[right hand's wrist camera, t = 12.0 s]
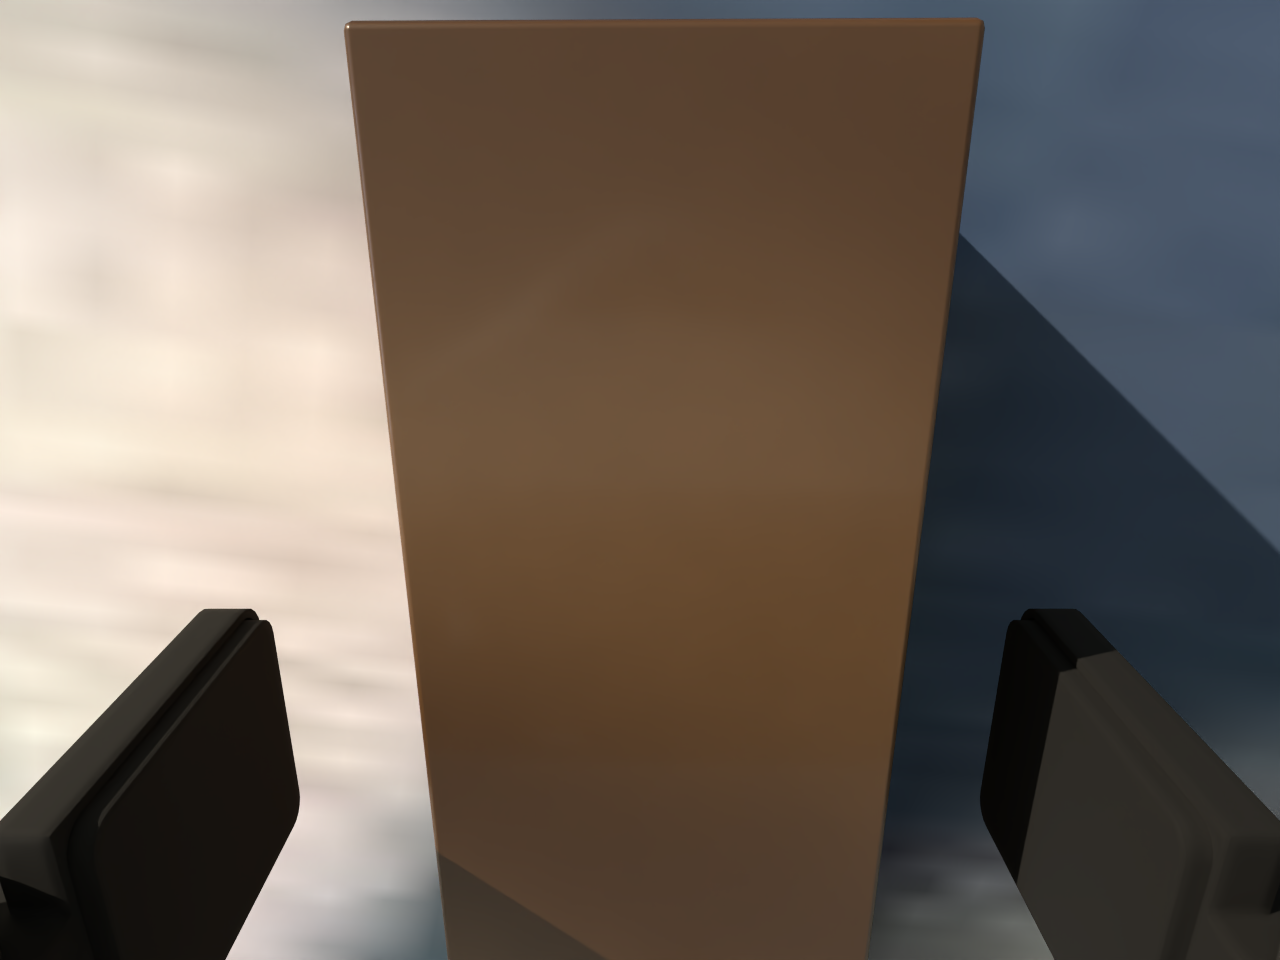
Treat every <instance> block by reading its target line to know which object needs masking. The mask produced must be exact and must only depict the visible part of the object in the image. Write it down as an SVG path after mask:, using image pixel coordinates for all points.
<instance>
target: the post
mask: <svg viewBox="0 0 1280 960" xmlns="http://www.w3.org/2000/svg"><path fill="white" fill-rule="evenodd" d="M984 30H985V27H984V22H983V21H982V20H980V19H978V18H821V19H622V20H423V21H351V22H349V23H347V24H345V28H344V37H345V45H346V54H347V63H348V72H349V81H350V90H351V99H352V108H353V117H354V126H355V135H356V144H357V152H358V161H359V170H360V179H361V188H362V197H363V206H364V215H365V224H366V233H367V242H368V251H369V259H370V268H371V277H372V286H373V295H374V304H375V313H376V322H377V331H378V340H379V349H380V358H381V366H382V375H383V384H384V393H385V402H386V411H387V420H388V429H389V438H390V447H391V456H392V465H393V473H394V482H395V491H396V500H397V509H398V518H399V527H400V536H401V545H402V554H403V563H404V572H405V580H406V589H407V598H408V607H409V616H410V625H411V634H412V643H413V652H414V661H415V670H416V679H417V687H418V696H419V705H420V714H421V723H422V732H423V741H424V750H425V759H426V768H427V777H428V786H429V794H430V803H431V812H432V821H433V830H434V839H435V848H436V857H437V866H438V875H439V884H440V893H441V901H442V910H443V919H444V928H445V937H446V946H447V955H448V960H868V955H869V947H870V939H871V931H872V923H873V915H874V907H875V899H876V891H877V883H878V875H879V867H880V859H881V851H882V843H883V835H884V827H885V819H886V811H887V803H888V796H889V788H890V780H891V772H892V764H893V756H894V748H895V740H896V732H897V724H898V716H899V708H900V700H901V692H902V684H903V676H904V668H905V660H906V652H907V644H908V636H909V628H910V620H911V612H912V604H913V596H914V588H915V580H916V572H917V564H918V556H919V548H920V541H921V533H922V525H923V517H924V509H925V501H926V493H927V485H928V477H929V469H930V461H931V453H932V445H933V437H934V429H935V421H936V413H937V405H938V397H939V389H940V381H941V373H942V365H943V357H944V349H945V341H946V333H947V325H948V317H949V309H950V301H951V293H952V285H953V278H954V270H955V262H956V254H957V246H958V238H959V230H960V222H961V214H962V206H963V198H964V190H965V182H966V174H967V166H968V158H969V150H970V142H971V134H972V126H973V118H974V110H975V102H976V94H977V86H978V78H979V70H980V62H981V54H982V46H983V38H984Z"/></svg>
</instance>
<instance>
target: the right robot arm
mask: <svg viewBox="0 0 1280 960" xmlns="http://www.w3.org/2000/svg"><path fill="white" fill-rule="evenodd" d="M299 805H300V793H299V786H298V780H297V774H296V768H295V762H294V756H293V749H292V743H291V737H290V731H289V725H288V719H287V713H286V707H285V701H284V695H283V688H282V682H281V676H280V670H279V664H278V658H277V652H276V646H275V640H274V634H273V629H272V626H271V624H270V622H268V621H267V620H259V618H258V616H257V614H256V612H255V611H253V610H252V609H204V610H202V611H201V612H199V613H198V614H197V615H196V616H195V618H194V619H193V620H192V621H191V622H190V623H189V624H188V625H187V626H186V627H185V628H184V629H183V630H182V631H181V632H180V633H179V634H178V635H177V636H176V637H175V638H174V639H173V641H172V642H171V643H170V644H169V645H168V646H167V647H166V648H165V649H164V650H163V651H162V652H161V653H160V654H159V655H158V656H157V657H156V658H155V659H154V660H153V661H152V663H151V664H150V665H149V666H148V667H147V668H146V669H145V670H144V671H143V672H142V673H141V674H140V675H139V676H138V677H137V678H136V679H135V680H134V681H133V682H132V683H131V685H130V686H129V687H128V688H127V689H126V690H125V691H124V692H123V693H122V694H121V695H120V696H119V697H118V698H117V699H116V700H115V701H114V702H113V703H112V704H111V705H110V707H109V708H108V709H107V710H106V711H105V712H104V713H103V714H102V715H101V716H100V717H99V718H98V719H97V720H96V721H95V722H94V723H93V724H92V725H91V726H90V727H89V728H88V730H87V731H86V732H85V733H84V734H83V735H82V736H81V737H80V738H79V739H78V740H77V741H76V742H75V743H74V744H73V745H72V746H71V747H70V748H69V749H68V750H67V752H66V753H65V754H64V755H63V756H62V757H61V758H60V759H59V760H58V761H57V762H56V763H55V764H54V765H53V766H52V767H51V768H50V769H49V770H48V771H47V772H46V774H45V775H44V776H43V777H42V778H41V779H40V780H39V781H38V782H37V783H36V784H35V785H34V786H33V787H32V788H31V789H30V790H29V791H28V792H27V793H26V794H25V796H24V797H23V798H22V799H21V800H20V801H19V802H18V803H17V804H16V805H15V806H14V807H13V808H12V809H11V810H10V811H9V812H8V813H7V814H6V815H5V816H4V818H3V819H2V820H1V821H0V960H225V959H226V957H227V955H228V953H229V952H230V950H231V948H232V946H233V944H234V942H235V940H236V938H237V936H238V934H239V932H240V930H241V928H242V926H243V924H244V922H245V920H246V918H247V916H248V914H249V913H250V911H251V909H252V907H253V905H254V903H255V901H256V899H257V897H258V895H259V893H260V891H261V889H262V887H263V885H264V883H265V881H266V879H267V877H268V875H269V874H270V872H271V870H272V868H273V866H274V864H275V862H276V860H277V858H278V856H279V854H280V852H281V850H282V848H283V846H284V844H285V842H286V840H287V838H288V836H289V835H290V833H291V831H292V829H293V827H294V825H295V822H296V820H297V816H298V812H299ZM980 805H981V812H982V816H983V820H984V822H985V825H986V827H987V829H988V831H989V833H990V835H991V836H992V838H993V840H994V842H995V844H996V846H997V848H998V850H999V852H1000V854H1001V856H1002V858H1003V860H1004V862H1005V864H1006V866H1007V868H1008V870H1009V872H1010V874H1011V875H1012V877H1013V879H1014V881H1015V883H1016V885H1017V887H1018V889H1019V891H1020V893H1021V895H1022V897H1023V899H1024V901H1025V903H1026V905H1027V907H1028V909H1029V911H1030V913H1031V914H1032V916H1033V918H1034V920H1035V922H1036V924H1037V926H1038V928H1039V930H1040V932H1041V934H1042V936H1043V938H1044V940H1045V942H1046V944H1047V946H1048V948H1049V950H1050V952H1051V953H1052V955H1053V957H1054V959H1055V960H1280V821H1279V820H1278V819H1277V818H1276V816H1275V815H1274V814H1273V813H1272V812H1271V811H1270V810H1269V809H1268V808H1267V807H1266V806H1265V805H1264V804H1263V803H1262V802H1261V801H1260V800H1259V799H1258V798H1257V797H1256V796H1255V794H1254V793H1253V792H1252V791H1251V790H1250V789H1249V788H1248V787H1247V786H1246V785H1245V784H1244V783H1243V782H1242V781H1241V780H1240V779H1239V778H1238V777H1237V776H1236V775H1235V774H1234V772H1233V771H1232V770H1231V769H1230V768H1229V767H1228V766H1227V765H1226V764H1225V763H1224V762H1223V761H1222V760H1221V759H1220V758H1219V757H1218V756H1217V755H1216V754H1215V753H1214V752H1213V750H1212V749H1211V748H1210V747H1209V746H1208V745H1207V744H1206V743H1205V742H1204V741H1203V740H1202V739H1201V738H1200V737H1199V736H1198V735H1197V734H1196V733H1195V732H1194V731H1193V730H1192V729H1191V727H1190V726H1189V725H1188V724H1187V723H1186V722H1185V721H1184V720H1183V719H1182V718H1181V717H1180V716H1179V715H1178V714H1177V713H1176V712H1175V711H1174V710H1173V709H1172V708H1171V707H1170V705H1169V704H1168V703H1167V702H1166V701H1165V700H1164V699H1163V698H1162V697H1161V696H1160V695H1159V694H1158V693H1157V692H1156V691H1155V690H1154V689H1153V688H1152V687H1151V686H1150V685H1149V683H1148V682H1147V681H1146V680H1145V679H1144V678H1143V677H1142V676H1141V675H1140V674H1139V673H1138V672H1137V671H1136V670H1135V669H1134V668H1133V667H1132V666H1131V665H1130V664H1129V663H1128V661H1127V660H1126V659H1125V658H1124V657H1123V656H1122V655H1121V654H1120V653H1119V652H1118V651H1117V650H1116V649H1115V648H1114V647H1113V646H1112V645H1111V644H1110V643H1109V642H1108V641H1107V639H1106V638H1105V637H1104V636H1103V635H1102V634H1101V633H1100V632H1099V631H1098V630H1097V629H1096V628H1095V627H1094V626H1093V625H1092V624H1091V623H1090V622H1089V621H1088V620H1087V619H1086V618H1085V616H1084V615H1083V614H1082V613H1081V612H1079V611H1078V610H1076V609H1028V610H1027V611H1025V612H1024V614H1023V616H1022V618H1021V620H1013V621H1012V622H1010V624H1009V626H1008V629H1007V634H1006V640H1005V646H1004V652H1003V658H1002V664H1001V670H1000V676H999V682H998V688H997V695H996V701H995V707H994V713H993V719H992V725H991V731H990V737H989V743H988V749H987V756H986V762H985V768H984V774H983V780H982V786H981V793H980Z"/></svg>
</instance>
